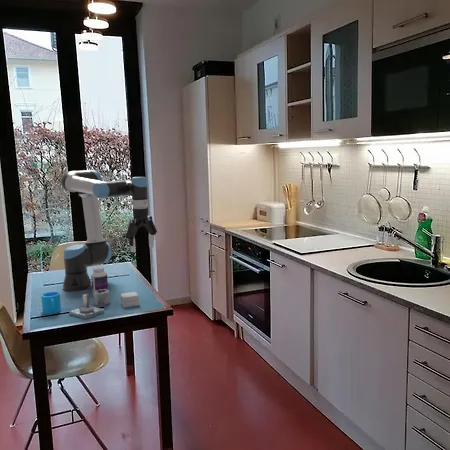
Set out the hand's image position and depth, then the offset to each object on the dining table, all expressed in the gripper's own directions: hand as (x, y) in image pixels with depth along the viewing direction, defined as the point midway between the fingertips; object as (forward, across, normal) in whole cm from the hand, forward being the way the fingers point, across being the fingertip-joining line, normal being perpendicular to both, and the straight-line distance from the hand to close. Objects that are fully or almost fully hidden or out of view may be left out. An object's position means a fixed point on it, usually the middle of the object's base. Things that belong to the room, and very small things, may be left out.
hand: (142, 249), depth 229 cm
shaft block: (+24, -33, +5) cm, 41 cm away
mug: (+25, -40, +22) cm, 51 cm away
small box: (+25, -13, -2) cm, 28 cm away
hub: (+24, -19, +11) cm, 33 cm away
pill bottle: (+25, -9, +23) cm, 35 cm away
